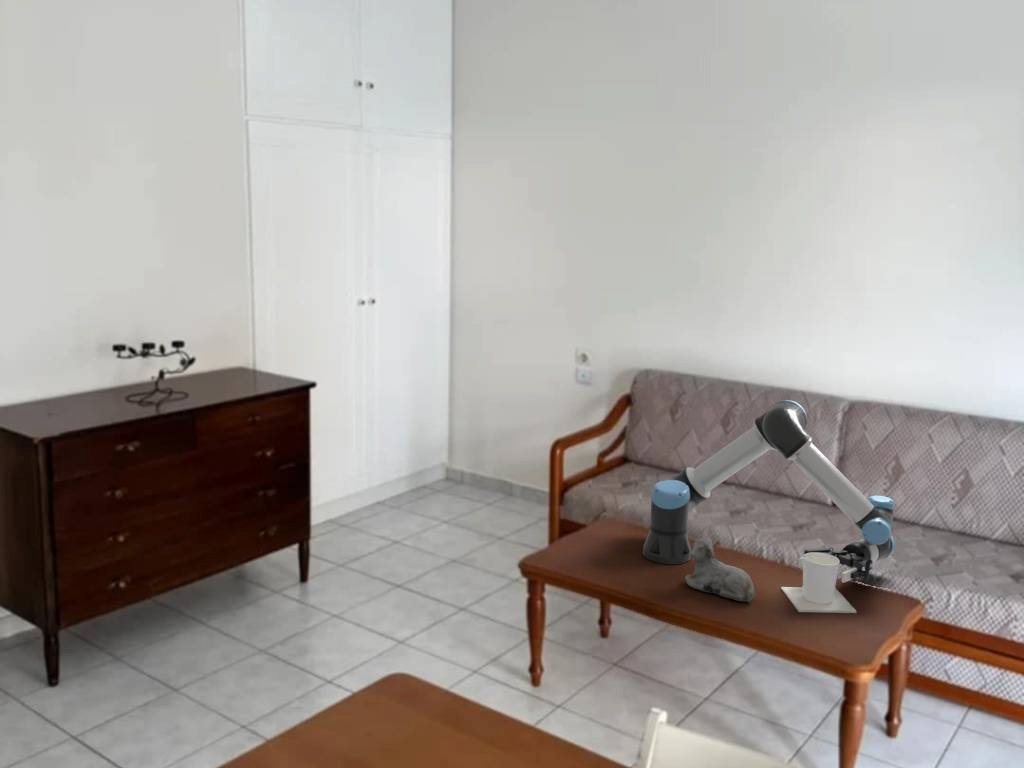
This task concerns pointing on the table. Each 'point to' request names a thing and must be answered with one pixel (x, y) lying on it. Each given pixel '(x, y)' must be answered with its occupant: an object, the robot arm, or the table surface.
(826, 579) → the candle holder
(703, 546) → the sculpture
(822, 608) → the tile
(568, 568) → the table surface
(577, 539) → the table surface
